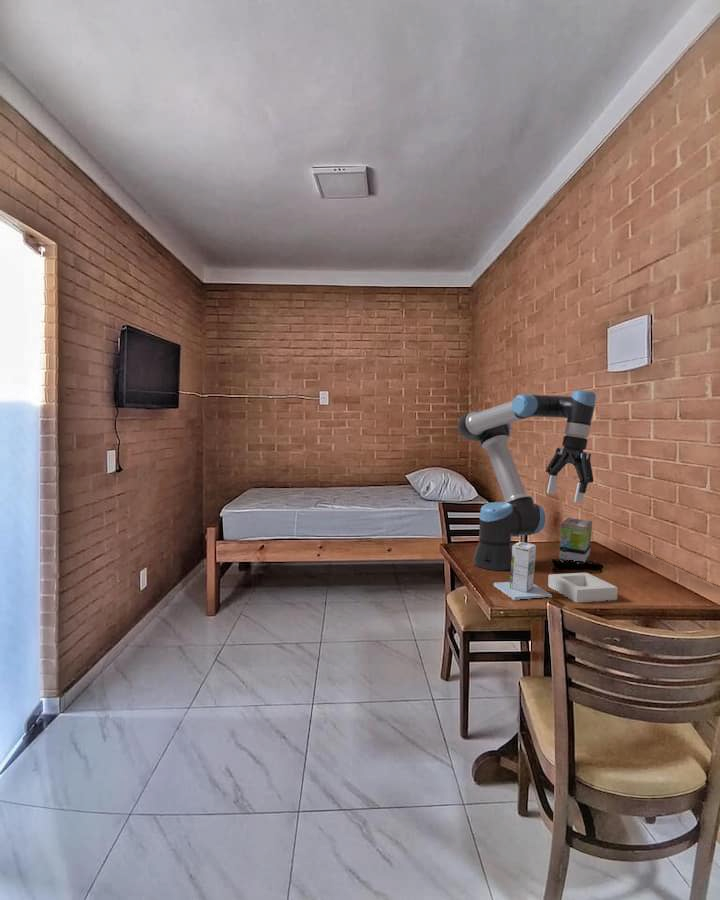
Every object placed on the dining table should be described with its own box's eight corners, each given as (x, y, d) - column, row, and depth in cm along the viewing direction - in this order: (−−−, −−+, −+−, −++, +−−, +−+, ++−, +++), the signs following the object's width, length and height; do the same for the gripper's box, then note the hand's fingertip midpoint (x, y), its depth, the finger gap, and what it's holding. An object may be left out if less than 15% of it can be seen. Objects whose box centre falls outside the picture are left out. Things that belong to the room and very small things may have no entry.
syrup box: (516, 584, 161) (518, 541, 160) (534, 588, 157) (536, 544, 156) (509, 588, 156) (511, 544, 155) (527, 593, 152) (529, 547, 151)
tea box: (585, 563, 189) (587, 526, 188) (558, 559, 195) (560, 522, 194) (590, 555, 202) (592, 520, 201) (564, 550, 207) (566, 516, 206)
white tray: (548, 586, 162) (548, 574, 162) (585, 584, 165) (586, 572, 165) (576, 602, 148) (577, 589, 148) (617, 599, 151) (617, 587, 151)
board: (493, 585, 161) (493, 582, 161) (528, 583, 164) (528, 580, 164) (514, 600, 149) (514, 597, 149) (551, 597, 152) (551, 594, 151)
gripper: (613, 442, 153) (600, 507, 155) (559, 434, 177) (548, 491, 178) (595, 438, 151) (581, 505, 152) (542, 431, 175) (531, 489, 176)
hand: (563, 497), depth 165 cm, fingers open, 13 cm apart
